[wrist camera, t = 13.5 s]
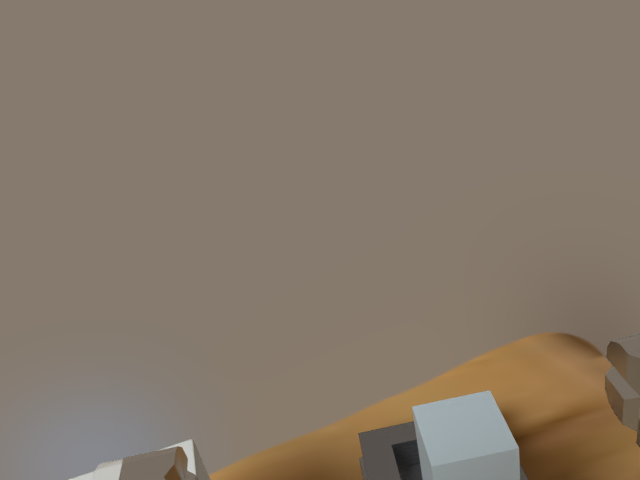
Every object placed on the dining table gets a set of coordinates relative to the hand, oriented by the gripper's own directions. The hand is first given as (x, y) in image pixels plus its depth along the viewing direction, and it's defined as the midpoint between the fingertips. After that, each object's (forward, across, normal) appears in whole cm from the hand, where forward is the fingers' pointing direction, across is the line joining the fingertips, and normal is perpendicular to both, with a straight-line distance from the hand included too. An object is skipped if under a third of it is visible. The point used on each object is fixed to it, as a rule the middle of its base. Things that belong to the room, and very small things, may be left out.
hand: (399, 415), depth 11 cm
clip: (+10, +4, -26) cm, 29 cm away
